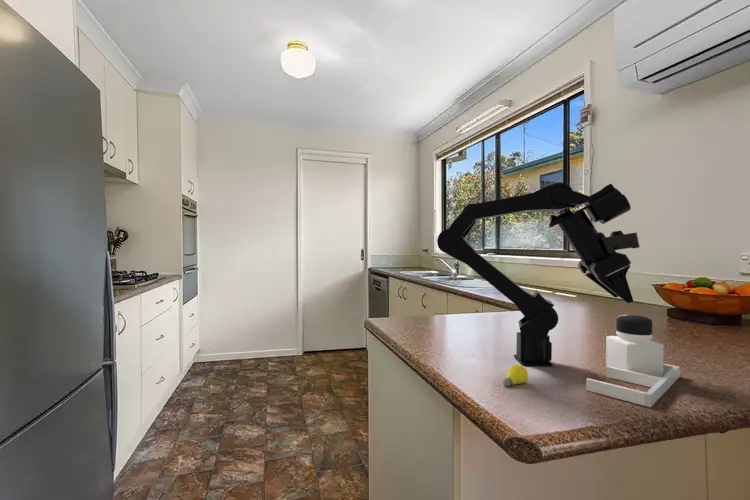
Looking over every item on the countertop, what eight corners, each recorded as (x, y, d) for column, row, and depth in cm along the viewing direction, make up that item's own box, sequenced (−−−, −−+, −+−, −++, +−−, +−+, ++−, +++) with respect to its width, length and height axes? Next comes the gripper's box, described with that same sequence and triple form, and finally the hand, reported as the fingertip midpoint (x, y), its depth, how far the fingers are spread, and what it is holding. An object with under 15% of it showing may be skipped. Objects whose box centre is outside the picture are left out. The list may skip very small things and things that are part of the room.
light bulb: (530, 382, 71) (532, 367, 70) (511, 397, 68) (513, 382, 67) (514, 372, 74) (516, 358, 72) (496, 386, 71) (497, 372, 69)
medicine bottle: (664, 381, 72) (665, 319, 72) (627, 380, 72) (628, 319, 72) (638, 369, 79) (639, 313, 79) (605, 368, 80) (605, 312, 80)
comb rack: (650, 407, 60) (650, 395, 60) (586, 390, 67) (586, 379, 67) (679, 376, 75) (679, 366, 75) (624, 365, 82) (624, 356, 82)
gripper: (633, 211, 69) (684, 285, 67) (608, 219, 87) (647, 277, 84) (575, 241, 73) (621, 313, 70) (562, 243, 90) (599, 300, 88)
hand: (623, 299), depth 78 cm, fingers open, 9 cm apart
